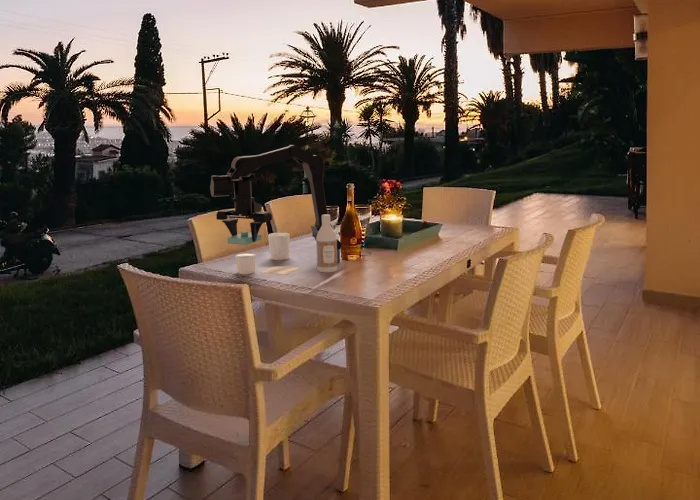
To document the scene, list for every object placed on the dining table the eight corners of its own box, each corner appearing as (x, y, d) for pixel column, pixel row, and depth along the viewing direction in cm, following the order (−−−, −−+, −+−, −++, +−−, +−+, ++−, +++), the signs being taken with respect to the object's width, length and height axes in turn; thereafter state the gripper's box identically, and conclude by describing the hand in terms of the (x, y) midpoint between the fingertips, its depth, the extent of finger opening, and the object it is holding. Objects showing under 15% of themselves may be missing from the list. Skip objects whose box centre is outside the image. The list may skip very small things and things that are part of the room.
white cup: (286, 263, 222) (285, 236, 220) (266, 262, 224) (265, 236, 222) (293, 258, 230) (292, 232, 228) (273, 257, 231) (272, 232, 229)
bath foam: (319, 275, 203) (317, 217, 199) (315, 270, 210) (314, 214, 205) (339, 274, 205) (338, 215, 200) (335, 269, 211) (333, 213, 207)
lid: (261, 239, 207) (261, 230, 206) (245, 245, 198) (245, 235, 197) (244, 238, 209) (243, 229, 209) (227, 243, 200) (227, 234, 200)
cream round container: (260, 273, 208) (259, 253, 206) (249, 278, 202) (248, 257, 200) (243, 271, 211) (242, 252, 209) (232, 276, 204) (231, 256, 203)
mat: (300, 270, 210) (300, 268, 210) (286, 277, 201) (286, 274, 201) (275, 268, 214) (275, 265, 214) (260, 275, 205) (260, 272, 205)
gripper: (279, 193, 204) (280, 238, 207) (233, 191, 211) (235, 235, 214) (262, 197, 194) (264, 244, 197) (214, 195, 201) (216, 240, 204)
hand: (245, 241), depth 204 cm, fingers closed on lid, 7 cm apart
